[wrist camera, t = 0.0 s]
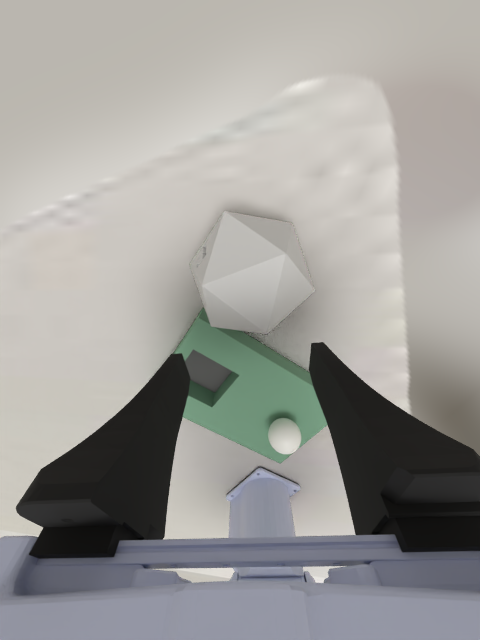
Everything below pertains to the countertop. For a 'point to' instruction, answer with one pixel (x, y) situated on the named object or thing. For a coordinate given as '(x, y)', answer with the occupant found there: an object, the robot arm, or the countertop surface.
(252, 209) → the countertop surface
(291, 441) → the ball
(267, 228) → the die
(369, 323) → the countertop surface
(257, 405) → the green
